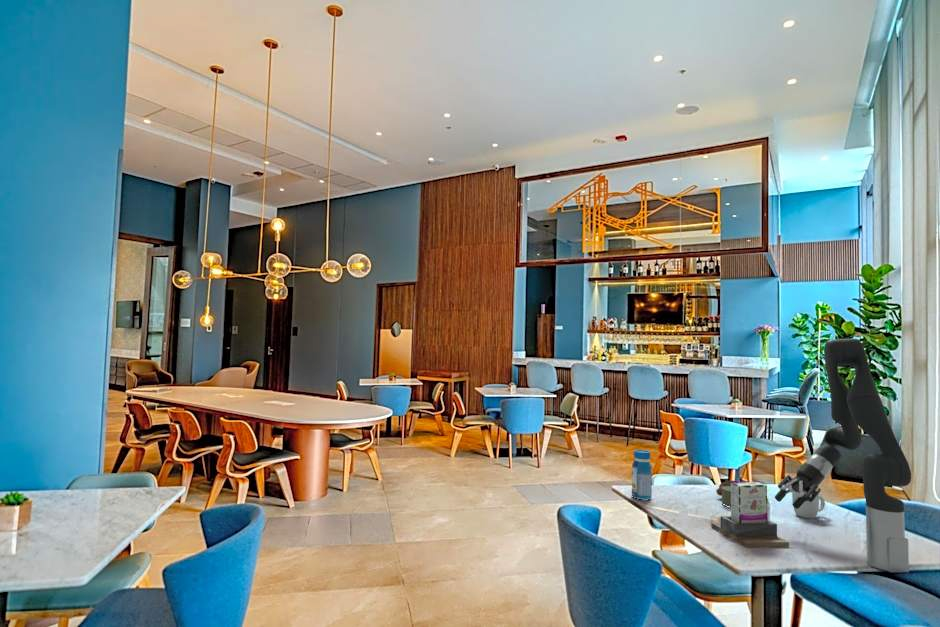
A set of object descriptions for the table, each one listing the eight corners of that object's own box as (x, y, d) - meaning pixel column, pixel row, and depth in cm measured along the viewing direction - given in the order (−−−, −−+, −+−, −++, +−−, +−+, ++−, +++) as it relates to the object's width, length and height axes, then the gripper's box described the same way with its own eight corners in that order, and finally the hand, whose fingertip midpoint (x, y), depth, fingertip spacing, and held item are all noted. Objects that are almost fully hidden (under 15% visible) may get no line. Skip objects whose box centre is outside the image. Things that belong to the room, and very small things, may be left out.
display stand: (789, 546, 175) (789, 529, 175) (747, 547, 173) (747, 530, 173) (749, 526, 195) (749, 511, 195) (711, 527, 193) (711, 511, 193)
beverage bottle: (645, 502, 223) (646, 453, 225) (627, 497, 230) (628, 450, 231) (655, 498, 229) (656, 451, 230) (637, 494, 235) (638, 448, 237)
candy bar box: (757, 529, 188) (757, 481, 189) (768, 533, 183) (768, 485, 184) (729, 530, 186) (729, 482, 187) (739, 534, 181) (739, 485, 182)
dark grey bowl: (714, 502, 227) (714, 486, 227) (737, 501, 230) (737, 485, 231) (736, 510, 215) (736, 493, 216) (760, 509, 219) (760, 492, 219)
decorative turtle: (756, 500, 232) (755, 482, 232) (726, 504, 228) (726, 486, 228) (739, 493, 241) (738, 476, 241) (711, 497, 237) (710, 479, 237)
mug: (804, 520, 206) (804, 493, 206) (787, 512, 215) (786, 487, 215) (833, 519, 208) (832, 493, 209) (814, 512, 217) (814, 487, 217)
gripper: (792, 458, 196) (764, 490, 193) (823, 466, 182) (793, 501, 179) (806, 473, 196) (777, 505, 194) (837, 482, 182) (807, 517, 180)
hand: (785, 503), depth 187 cm, fingers open, 8 cm apart
